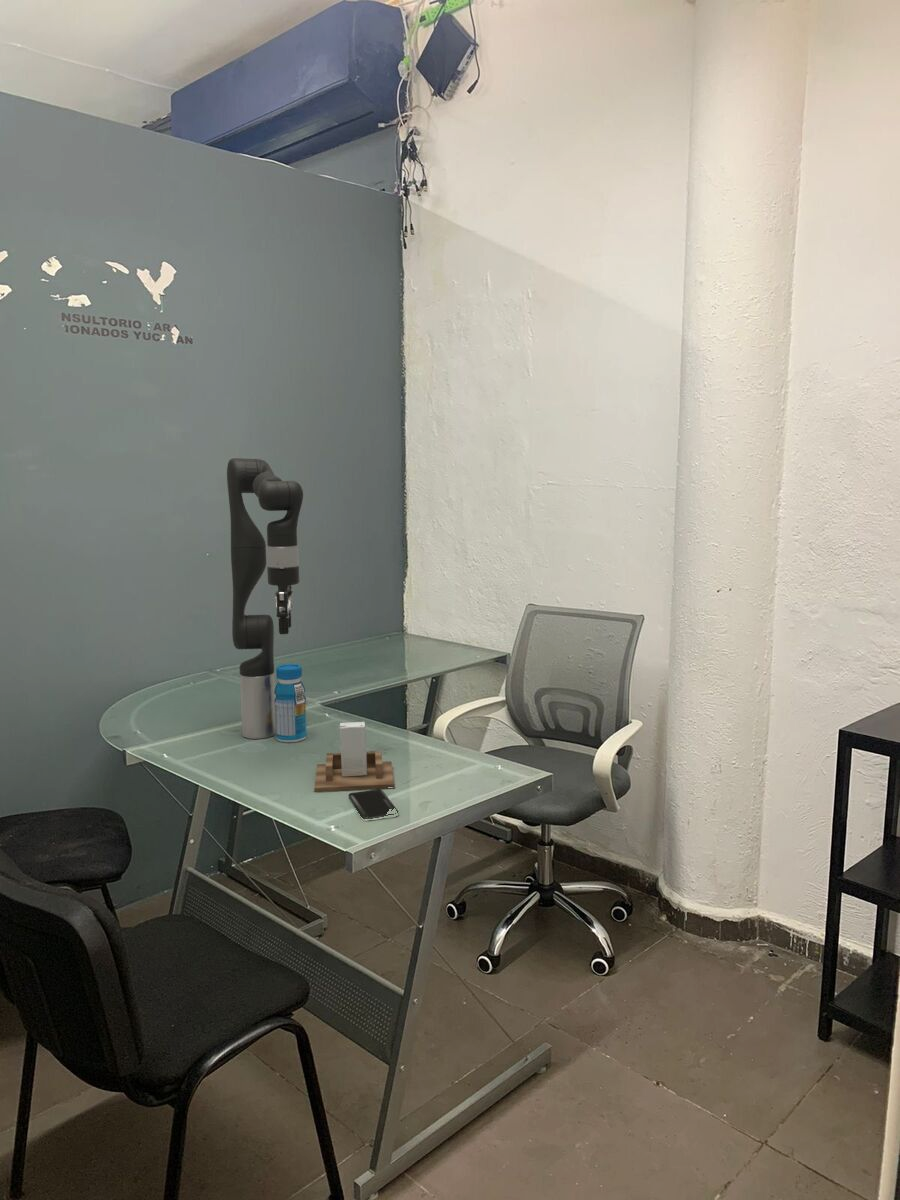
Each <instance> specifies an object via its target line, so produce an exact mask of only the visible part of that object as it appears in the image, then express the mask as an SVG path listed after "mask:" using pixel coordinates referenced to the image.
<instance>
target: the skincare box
mask: <svg viewBox="0 0 900 1200" xmlns="http://www.w3.org/2000/svg"><path fill="white" fill-rule="evenodd" d="M366 734H367V733H366V722H365V721H357V722H355V721H354V722H340V723H339V741H340V742H339V743H340V753H341V767H342V776H343V777H344V776H363V775H367V754H366V752H367V737H366Z"/></svg>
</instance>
